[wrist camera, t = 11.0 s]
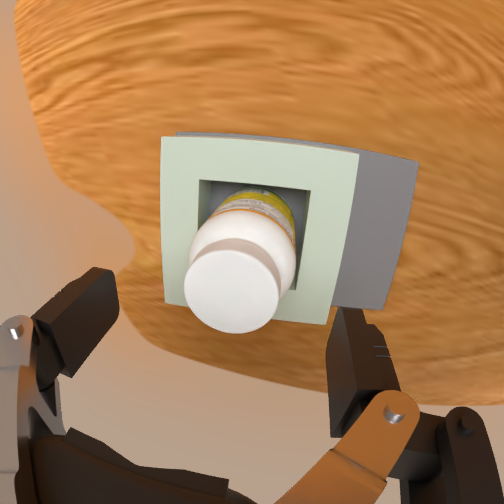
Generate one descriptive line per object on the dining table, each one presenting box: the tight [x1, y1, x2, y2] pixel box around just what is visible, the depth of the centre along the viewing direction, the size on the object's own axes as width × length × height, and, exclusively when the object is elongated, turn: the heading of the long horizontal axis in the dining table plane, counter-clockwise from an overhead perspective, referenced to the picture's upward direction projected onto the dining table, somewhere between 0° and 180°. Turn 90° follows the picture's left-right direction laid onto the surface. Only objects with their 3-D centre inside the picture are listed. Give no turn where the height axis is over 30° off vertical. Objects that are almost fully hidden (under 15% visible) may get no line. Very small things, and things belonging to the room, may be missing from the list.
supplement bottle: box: [184, 186, 296, 334], centre depth 16 cm, size 5×5×10 cm
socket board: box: [160, 132, 419, 325], centre depth 19 cm, size 12×17×4 cm
